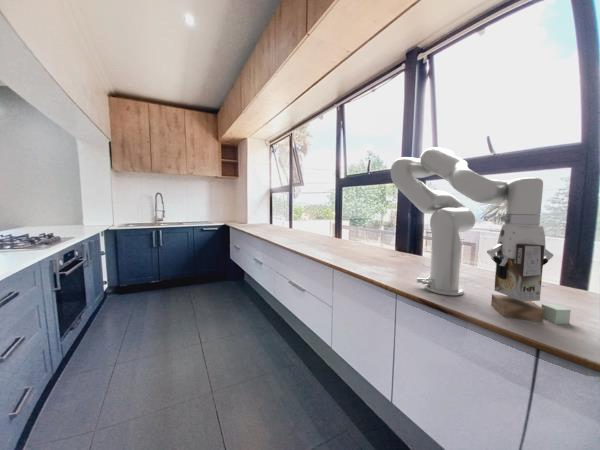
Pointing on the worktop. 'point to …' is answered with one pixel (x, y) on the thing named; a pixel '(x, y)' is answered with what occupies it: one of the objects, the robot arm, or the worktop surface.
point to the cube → (556, 313)
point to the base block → (517, 308)
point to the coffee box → (523, 273)
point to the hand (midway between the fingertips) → (517, 278)
